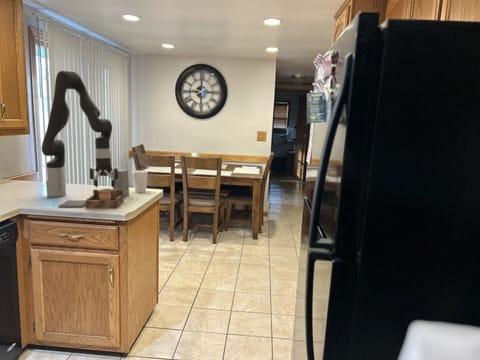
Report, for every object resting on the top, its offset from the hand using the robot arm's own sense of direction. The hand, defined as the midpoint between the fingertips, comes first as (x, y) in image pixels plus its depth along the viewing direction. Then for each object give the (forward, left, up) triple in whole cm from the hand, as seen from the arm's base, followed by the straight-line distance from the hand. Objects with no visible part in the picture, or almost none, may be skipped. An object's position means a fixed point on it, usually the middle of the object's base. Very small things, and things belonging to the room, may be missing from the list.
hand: (104, 186), depth 185 cm
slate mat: (-16, 0, -10) cm, 19 cm away
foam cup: (+12, +36, -10) cm, 39 cm away
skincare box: (+3, +22, -10) cm, 25 cm away
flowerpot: (0, 0, -10) cm, 10 cm away
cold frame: (0, 0, -10) cm, 10 cm away
